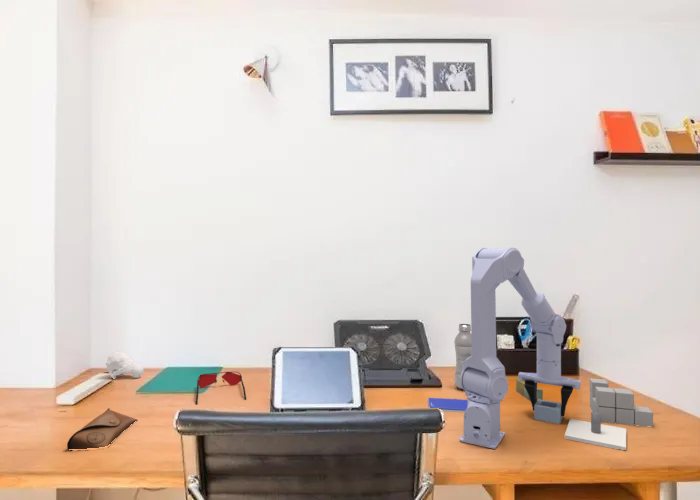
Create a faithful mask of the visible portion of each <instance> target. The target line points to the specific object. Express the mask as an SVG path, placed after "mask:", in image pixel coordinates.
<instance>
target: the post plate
mask: <svg viewBox="0 0 700 500" xmlns="http://www.w3.org/2000/svg"><path fill="white" fill-rule="evenodd" d="M564 439H565V440H569V441H574V442H579V443H584V444H589V445H594V446H599V447H605V448H609V449H613V448H614V450H618V449H621V450H620V451H623V450H626V451H627V428H624V427H619V426H614V425H607V424H602V422H601V413H599V412H594V411H590V421H585V420H579V419H575V418H570V419H569V421H568V424H567V426H566V430H565V433H564Z"/></svg>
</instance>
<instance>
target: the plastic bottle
mask: <svg viewBox="0 0 700 500" xmlns="http://www.w3.org/2000/svg"><path fill="white" fill-rule="evenodd" d="M458 331H459V333H457V334H456V336H455V337H454V349H455V351H454V352H455V362H456V363H455V374H454V379H453V381H454V385H455V386H456V388H457V389H461V390H463V388H462V387H461V384H460V376H461V373H462V369H463V362H464V361H465V360H466V359H468V358H469V357H470V356H472V338H471V323H470V324H469V323H459V325H458Z"/></svg>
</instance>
